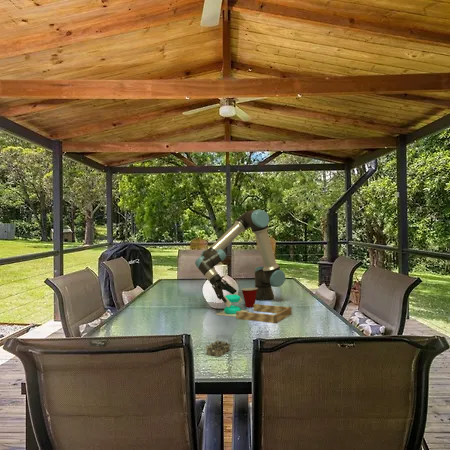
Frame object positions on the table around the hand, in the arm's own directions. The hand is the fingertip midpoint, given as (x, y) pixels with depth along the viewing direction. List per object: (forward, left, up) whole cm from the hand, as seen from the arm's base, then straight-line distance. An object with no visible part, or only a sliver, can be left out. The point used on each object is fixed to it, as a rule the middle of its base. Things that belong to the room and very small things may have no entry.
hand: (235, 303), depth 233 cm
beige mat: (-2, -1, -6) cm, 6 cm away
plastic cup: (-10, +19, -6) cm, 22 cm away
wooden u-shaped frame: (+17, +8, -6) cm, 20 cm away
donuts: (-2, -1, -5) cm, 6 cm away
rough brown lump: (+53, -49, -6) cm, 72 cm away
